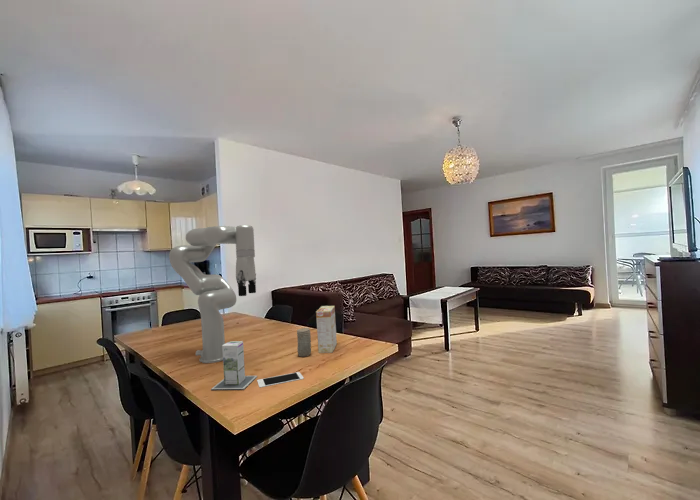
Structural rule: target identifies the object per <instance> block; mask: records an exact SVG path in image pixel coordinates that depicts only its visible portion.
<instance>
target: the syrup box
mask: <svg viewBox="0 0 700 500" xmlns="http://www.w3.org/2000/svg"><path fill="white" fill-rule="evenodd" d="M222 351H223V361H222V366H223V367H222V368H223V379H224V385H239V384H240V383H242V382H243V381H244V380H245V376H246V372H245V355H244V354H245V353H244V351H245V350H244V340H240V341H239V340H238V341H237V340H235V341H233V340H232V341H231V340H230V341H227V342H225V344H224V345H222Z"/></svg>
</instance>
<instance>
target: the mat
mask: <svg viewBox="0 0 700 500" xmlns="http://www.w3.org/2000/svg"><path fill="white" fill-rule="evenodd" d="M257 378H258V375H245V380H244V381H243V382H242V383H240V384H239V385H224V378H222V380H221V381H218V382H217V384H216V385H214V386H213V387H212V388H211V389H210V391H245V390H246V389H247V387H248V386H250V385H251V384H252V383H253V382H254V381H255V380H256V379H257Z"/></svg>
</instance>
